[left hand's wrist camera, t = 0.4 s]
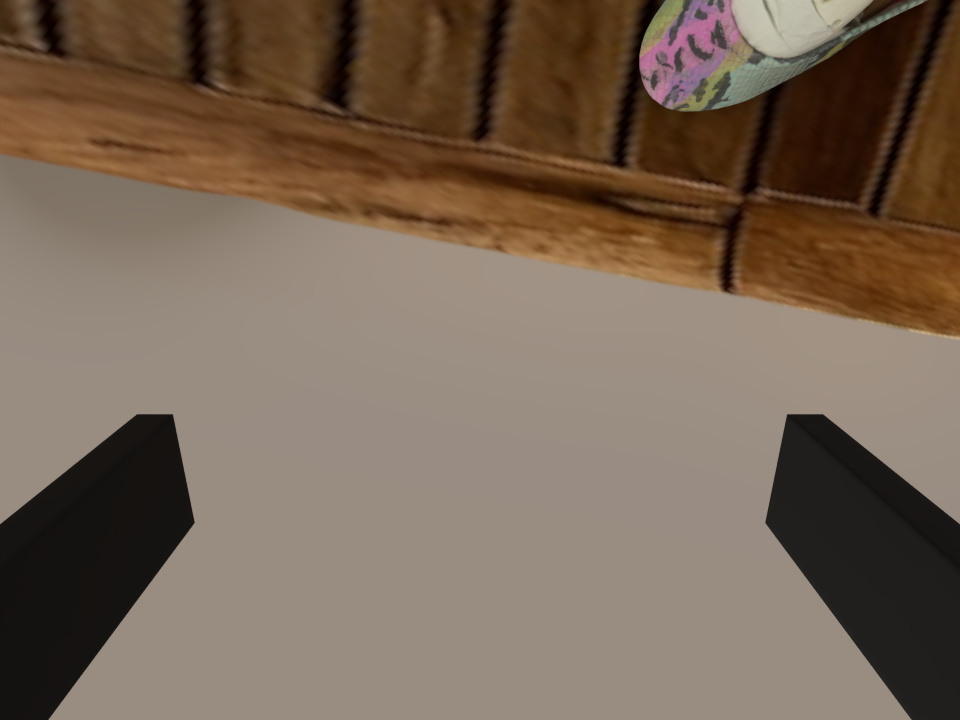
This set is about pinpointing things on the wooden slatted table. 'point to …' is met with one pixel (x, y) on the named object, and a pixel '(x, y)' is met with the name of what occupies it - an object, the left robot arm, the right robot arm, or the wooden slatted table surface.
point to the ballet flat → (746, 45)
